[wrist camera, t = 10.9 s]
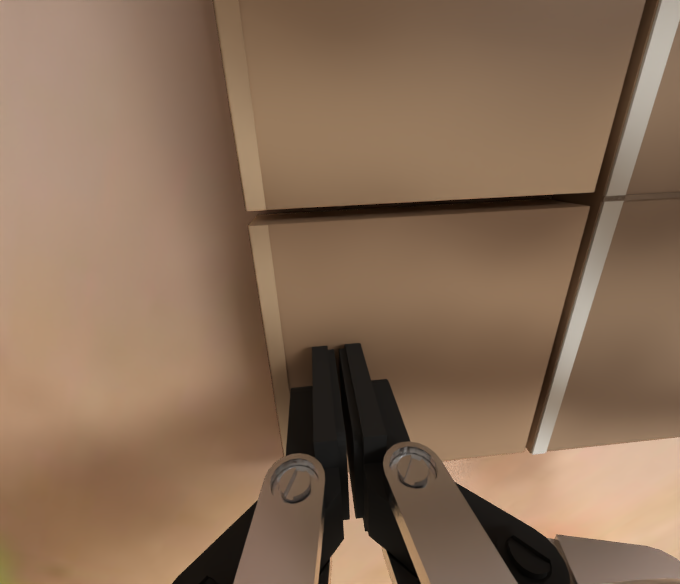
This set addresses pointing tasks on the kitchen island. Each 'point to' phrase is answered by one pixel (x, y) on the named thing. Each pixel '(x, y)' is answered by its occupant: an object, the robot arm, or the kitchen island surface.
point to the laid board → (625, 269)
